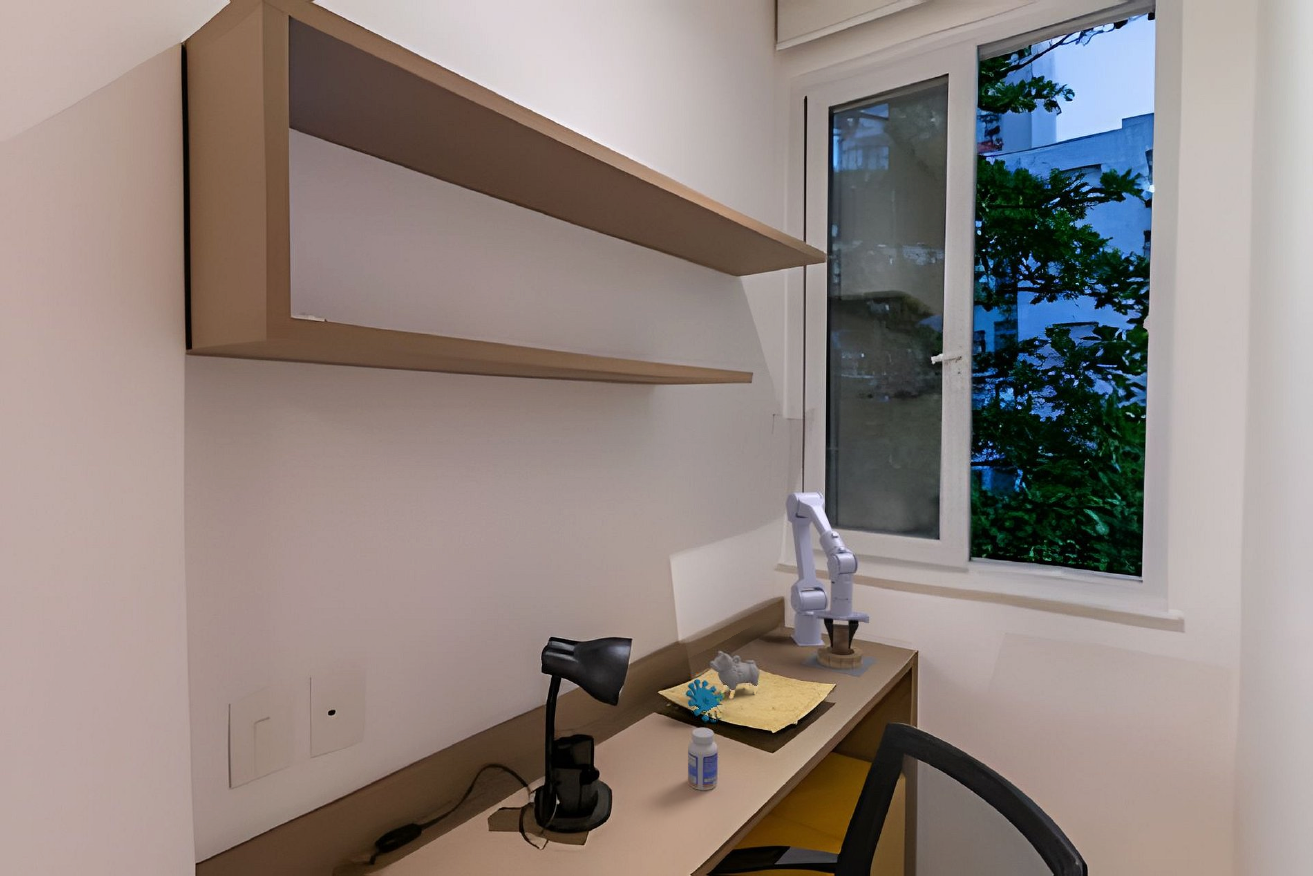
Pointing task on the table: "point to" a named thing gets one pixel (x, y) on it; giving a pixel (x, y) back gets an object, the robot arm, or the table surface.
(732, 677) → the grey dog figurine
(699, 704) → the blue knobby piece
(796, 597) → the robot arm
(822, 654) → the tan stone ring
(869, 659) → the craft mat
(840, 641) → the walnut peg
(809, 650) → the table surface
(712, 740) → the pill bottle
